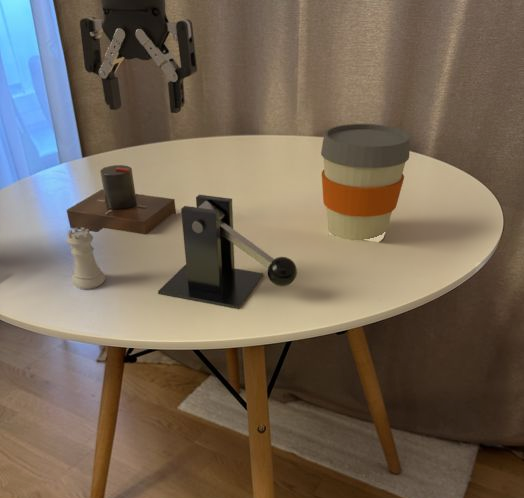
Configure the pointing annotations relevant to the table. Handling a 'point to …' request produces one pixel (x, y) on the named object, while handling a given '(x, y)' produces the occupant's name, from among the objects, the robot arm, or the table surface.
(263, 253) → the ball knob lever
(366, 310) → the table surface
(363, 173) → the reusable coffee cup
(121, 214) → the wooden knob base
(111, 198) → the knob
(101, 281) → the rook chess piece
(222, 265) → the black lever stand
